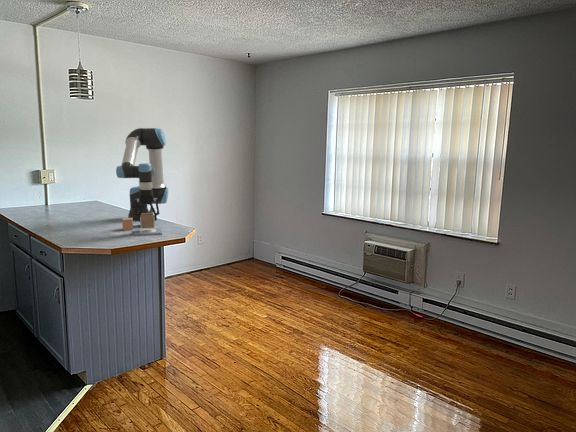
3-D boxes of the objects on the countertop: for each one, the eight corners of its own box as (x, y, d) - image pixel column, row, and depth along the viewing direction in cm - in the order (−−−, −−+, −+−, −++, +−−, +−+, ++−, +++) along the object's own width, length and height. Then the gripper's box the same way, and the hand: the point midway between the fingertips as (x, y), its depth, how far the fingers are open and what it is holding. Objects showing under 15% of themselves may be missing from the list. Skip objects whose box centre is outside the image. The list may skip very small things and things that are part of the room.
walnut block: (141, 226, 274) (141, 213, 272) (153, 225, 276) (153, 212, 275) (141, 228, 267) (141, 215, 266) (153, 227, 270) (153, 214, 268)
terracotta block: (123, 228, 284) (122, 218, 282) (133, 228, 286) (132, 217, 284) (122, 230, 278) (122, 219, 277) (132, 230, 280) (132, 219, 279)
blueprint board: (134, 230, 277) (134, 228, 277) (161, 229, 282) (160, 227, 282) (134, 236, 262) (133, 234, 262) (162, 234, 267) (162, 232, 267)
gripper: (128, 190, 261) (130, 228, 265) (163, 189, 267) (164, 226, 271) (128, 188, 268) (130, 226, 272) (162, 188, 274) (164, 224, 278)
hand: (147, 226), depth 272 cm, fingers closed on walnut block, 7 cm apart
